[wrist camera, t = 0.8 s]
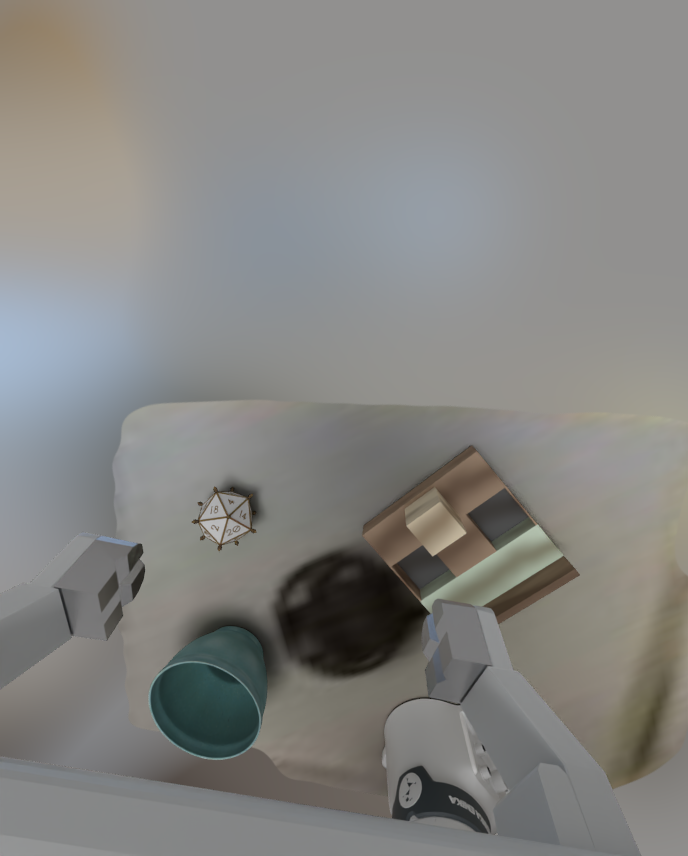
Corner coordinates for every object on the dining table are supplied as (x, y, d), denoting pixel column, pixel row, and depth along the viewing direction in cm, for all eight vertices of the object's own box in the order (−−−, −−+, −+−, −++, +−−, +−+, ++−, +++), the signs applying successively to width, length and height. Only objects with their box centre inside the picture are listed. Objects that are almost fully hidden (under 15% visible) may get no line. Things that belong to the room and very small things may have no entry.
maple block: (458, 515, 48) (466, 533, 43) (428, 536, 49) (432, 556, 44) (434, 486, 48) (439, 501, 43) (404, 508, 49) (406, 525, 44)
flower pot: (243, 707, 62) (213, 780, 52) (171, 646, 62) (126, 706, 51) (303, 653, 59) (284, 719, 48) (228, 587, 58) (192, 639, 47)
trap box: (557, 549, 50) (580, 574, 44) (446, 619, 54) (452, 651, 48) (471, 445, 49) (482, 457, 43) (363, 525, 53) (360, 546, 47)
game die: (251, 485, 58) (260, 479, 49) (256, 540, 56) (267, 544, 47) (190, 493, 55) (188, 487, 46) (194, 551, 53) (192, 558, 44)
